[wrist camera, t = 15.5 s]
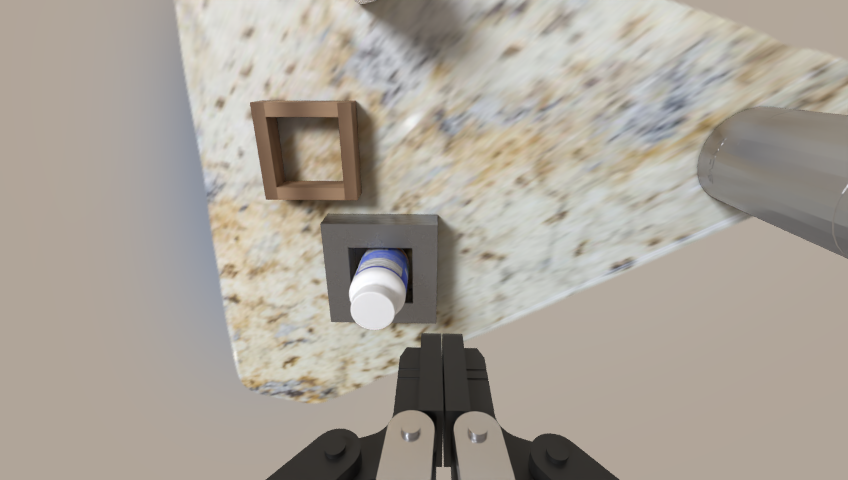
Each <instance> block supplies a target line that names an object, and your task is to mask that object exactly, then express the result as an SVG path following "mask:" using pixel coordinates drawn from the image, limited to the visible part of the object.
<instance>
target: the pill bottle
mask: <svg viewBox="0 0 848 480" xmlns="http://www.w3.org/2000/svg"><path fill="white" fill-rule="evenodd" d="M408 276H409V260H408V257H407V255H406V253H405V252H404V251H403V250H402V249H401V248H368V249H367V250H366V251H365V253H364V254H363V256H362V259H361V261H360V264H359V266H358V269H357V271H356V274H355V276H354V278H353V281H352V283H351V286H350V289H349V298H350V302H351V315H352V318H353V319H354V321H355V322H356V323H357V324H358V325H360V326H361V327H363V328H366V329H369V330H379V329H383V328H385V327H387V326H388V325H389V324H391V322H392V321H393V319H394V317H395V315H396V314H397V313H398V312H399V311H400V310H401V309H402V307H403V305H404V303H405V298H406V291H407V283H408Z"/></svg>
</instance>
